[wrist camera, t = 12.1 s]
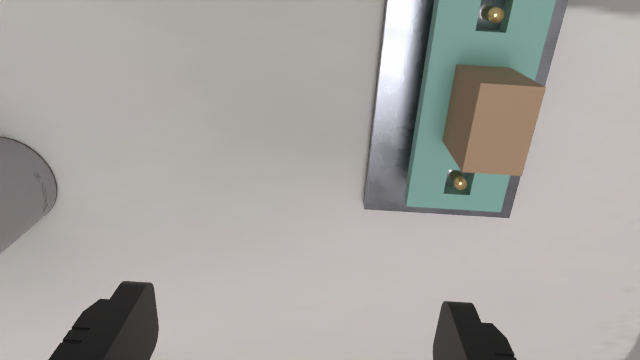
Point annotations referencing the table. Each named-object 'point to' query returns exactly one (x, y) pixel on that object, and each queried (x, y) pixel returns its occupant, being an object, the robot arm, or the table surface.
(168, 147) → the table surface
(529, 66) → the board
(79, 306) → the table surface
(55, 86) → the table surface
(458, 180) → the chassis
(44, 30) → the table surface
